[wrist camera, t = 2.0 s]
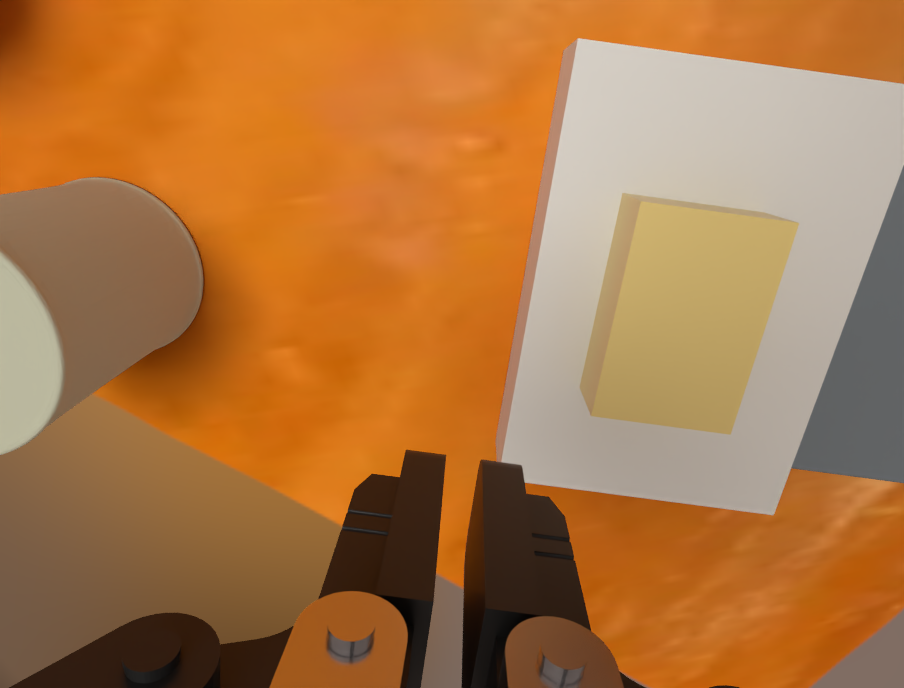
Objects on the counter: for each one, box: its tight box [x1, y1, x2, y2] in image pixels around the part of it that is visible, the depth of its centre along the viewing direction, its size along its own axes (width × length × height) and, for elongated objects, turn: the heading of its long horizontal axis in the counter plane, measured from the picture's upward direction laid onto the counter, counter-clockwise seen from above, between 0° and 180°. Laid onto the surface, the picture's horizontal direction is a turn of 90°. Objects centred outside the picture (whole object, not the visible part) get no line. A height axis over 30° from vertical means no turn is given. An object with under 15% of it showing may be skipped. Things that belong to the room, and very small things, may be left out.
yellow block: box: [580, 193, 799, 435], centre depth 26 cm, size 9×6×3 cm, turn 173°
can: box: [0, 177, 203, 455], centre depth 26 cm, size 9×9×12 cm
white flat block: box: [496, 38, 904, 515], centre depth 29 cm, size 20×14×4 cm
